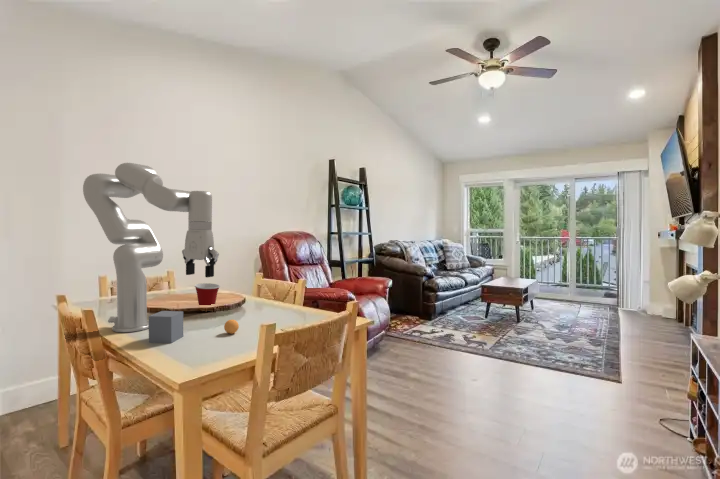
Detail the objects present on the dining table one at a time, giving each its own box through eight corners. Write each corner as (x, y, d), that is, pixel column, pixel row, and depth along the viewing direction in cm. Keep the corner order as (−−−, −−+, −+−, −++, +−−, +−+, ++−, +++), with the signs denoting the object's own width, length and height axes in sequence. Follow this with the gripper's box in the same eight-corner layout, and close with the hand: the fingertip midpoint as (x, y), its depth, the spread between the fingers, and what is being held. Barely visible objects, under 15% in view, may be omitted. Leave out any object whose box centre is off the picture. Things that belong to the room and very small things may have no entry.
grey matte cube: (148, 342, 126) (148, 316, 126) (162, 335, 134) (161, 310, 134) (171, 343, 126) (171, 316, 126) (183, 336, 134) (183, 311, 133)
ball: (221, 335, 136) (221, 321, 135) (227, 331, 141) (227, 317, 140) (235, 335, 135) (235, 321, 135) (240, 331, 140) (240, 318, 140)
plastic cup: (211, 314, 166) (211, 287, 165) (189, 313, 168) (189, 286, 167) (225, 309, 176) (225, 283, 176) (204, 307, 179) (203, 282, 178)
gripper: (174, 226, 133) (173, 274, 134) (208, 227, 125) (208, 279, 126) (192, 226, 140) (192, 272, 141) (226, 227, 132) (226, 276, 133)
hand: (199, 275), depth 133 cm, fingers open, 9 cm apart
